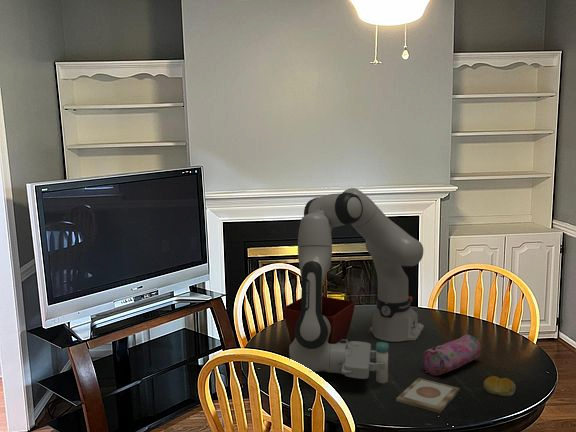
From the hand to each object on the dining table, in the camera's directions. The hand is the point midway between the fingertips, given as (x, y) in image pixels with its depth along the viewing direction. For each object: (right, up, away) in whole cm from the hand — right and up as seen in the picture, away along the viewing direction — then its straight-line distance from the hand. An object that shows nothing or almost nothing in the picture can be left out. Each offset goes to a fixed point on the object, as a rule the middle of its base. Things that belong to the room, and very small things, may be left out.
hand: (385, 361), depth 188 cm
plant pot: (-19, -3, +26) cm, 32 cm away
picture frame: (+11, -8, -9) cm, 17 cm away
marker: (-1, -6, +1) cm, 7 cm away
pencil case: (+23, -5, +11) cm, 26 cm away
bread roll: (+33, -8, -6) cm, 35 cm away
